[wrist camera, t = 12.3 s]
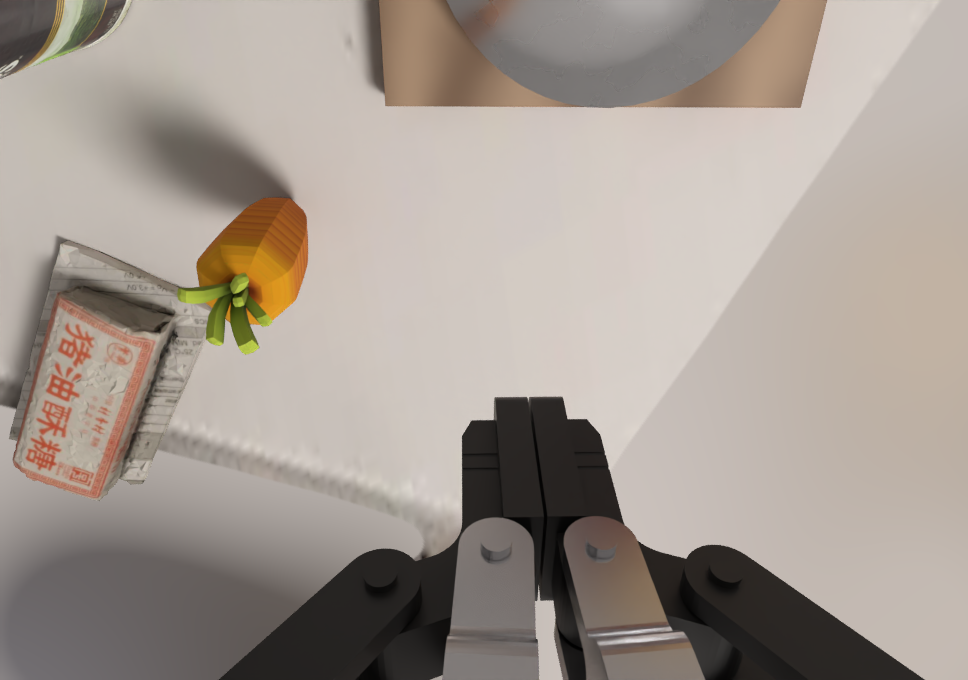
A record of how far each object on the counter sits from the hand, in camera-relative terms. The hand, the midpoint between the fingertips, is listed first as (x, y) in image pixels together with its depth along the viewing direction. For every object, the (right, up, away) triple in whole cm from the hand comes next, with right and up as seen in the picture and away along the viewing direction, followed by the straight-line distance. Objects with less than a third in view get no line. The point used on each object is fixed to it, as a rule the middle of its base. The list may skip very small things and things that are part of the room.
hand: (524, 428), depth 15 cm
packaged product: (-27, 0, +34) cm, 44 cm away
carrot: (-13, +10, +28) cm, 32 cm away
